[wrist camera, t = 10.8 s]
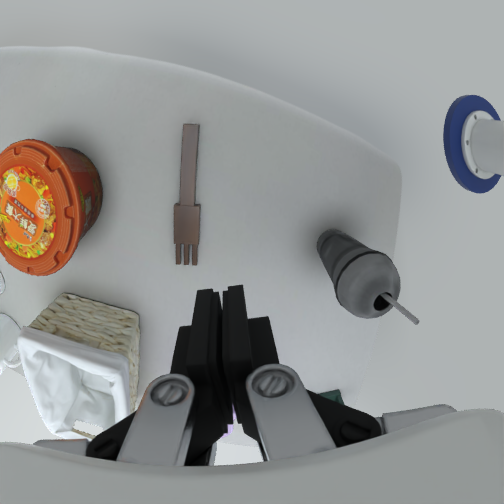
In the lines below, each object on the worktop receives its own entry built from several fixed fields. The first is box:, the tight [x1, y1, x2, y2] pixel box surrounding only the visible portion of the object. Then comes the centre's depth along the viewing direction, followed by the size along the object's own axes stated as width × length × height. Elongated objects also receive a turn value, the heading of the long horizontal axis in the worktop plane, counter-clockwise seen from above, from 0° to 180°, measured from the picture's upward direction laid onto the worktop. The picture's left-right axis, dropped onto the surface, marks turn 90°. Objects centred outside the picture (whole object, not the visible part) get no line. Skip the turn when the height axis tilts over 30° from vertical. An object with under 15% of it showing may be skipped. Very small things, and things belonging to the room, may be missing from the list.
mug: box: [0, 314, 22, 374], centre depth 37 cm, size 8×12×10 cm
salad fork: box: [174, 124, 200, 265], centre depth 35 cm, size 3×18×1 cm, turn 175°
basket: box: [17, 293, 140, 441], centre depth 37 cm, size 24×16×15 cm
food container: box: [0, 139, 103, 276], centre depth 28 cm, size 16×16×11 cm
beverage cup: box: [317, 230, 419, 325], centre depth 30 cm, size 7×7×20 cm
